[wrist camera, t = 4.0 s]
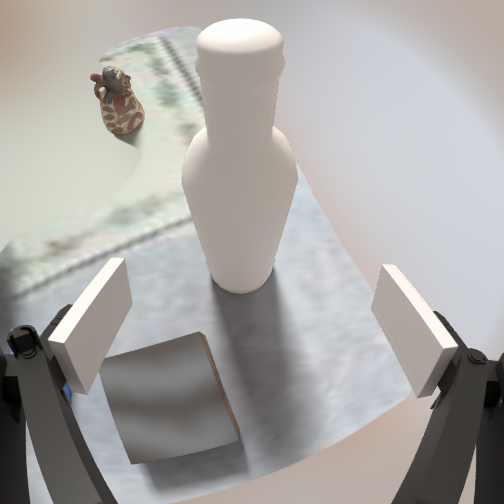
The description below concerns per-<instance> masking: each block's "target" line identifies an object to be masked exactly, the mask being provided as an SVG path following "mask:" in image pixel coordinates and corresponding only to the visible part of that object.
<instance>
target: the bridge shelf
mask: <svg viewBox="0 0 504 504" xmlns="http://www.w3.org/2000/svg"><path fill="white" fill-rule="evenodd" d="M99 374H100V378H101V381H102V385H103V388H104V391H105V394H106V398H107V401H108V404H109V407H110V410H111V413H112V416H113V419H114V421H115V424H116V427H117V430H118V432H119V435H120V438H121V440H122V443H123V445H124V448H125V450H126V453H127V455H128V458H129V460H130V462H131V465H132V464H139V463H145V462H151V461H157V460H163V459H168V458H173V457H178V456H183V455H187V454H192V453H196V452H200V451H204V450H208V449H212V448H216V447H220V446H223V445H227V444H231V443H234V442H237V441H239V427H238V425H237V422H236V420H235V417H234V415H233V412H232V409H231V407H230V404H229V401H228V399H227V396H226V393H225V391H224V388H223V385H222V382H221V380H220V377H219V374H218V371H217V368H216V366H215V363H214V360H213V357H212V354H211V351H210V348H209V345H208V342H207V339H206V336H205V335H203V334H202V333H201V332H196V333H192V334H189V335H186V336H183V337H179V338H176V339H173V340H169V341H166V342H162V343H159V344H156V345H152V346H149V347H145V348H141V349H138V350H134V351H131V352H127V353H123V354H120V355H116V356H112V357H108V358H104V360H103V362H102V364H101V366H100V368H99Z"/></svg>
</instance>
